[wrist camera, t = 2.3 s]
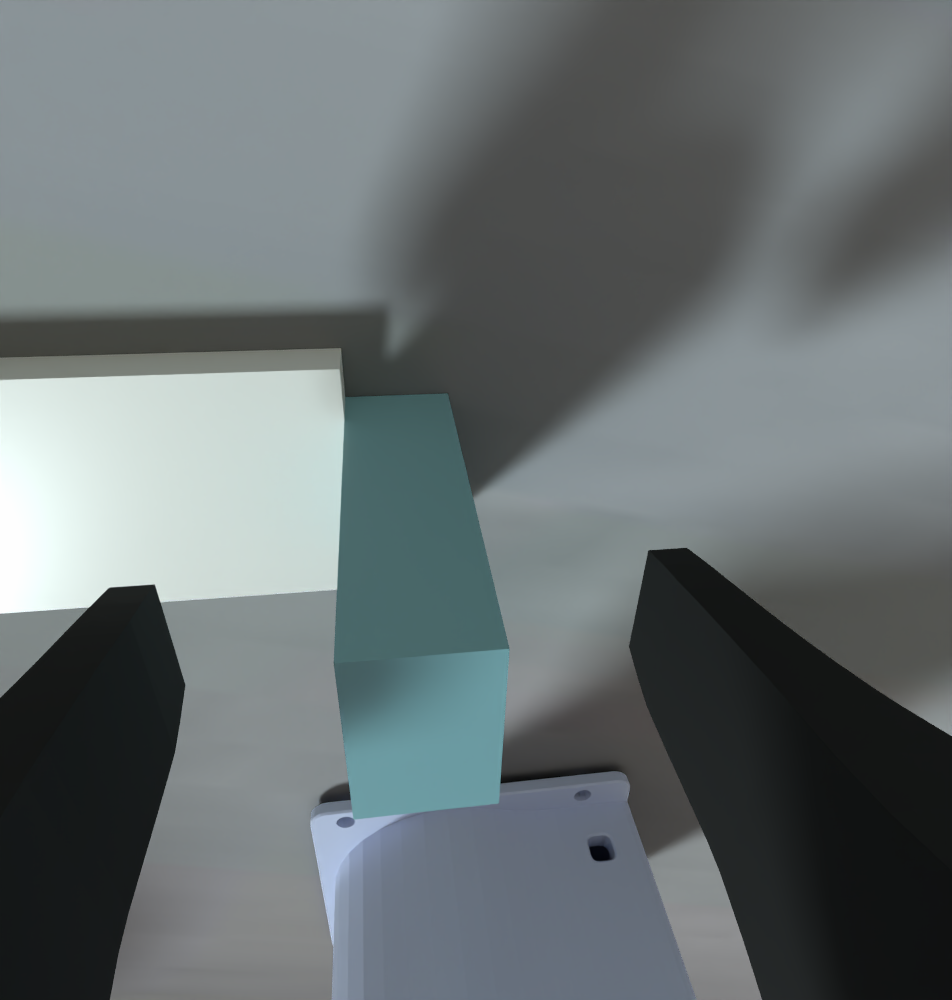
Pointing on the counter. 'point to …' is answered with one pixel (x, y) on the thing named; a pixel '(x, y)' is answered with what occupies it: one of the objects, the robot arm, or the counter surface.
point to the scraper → (273, 534)
